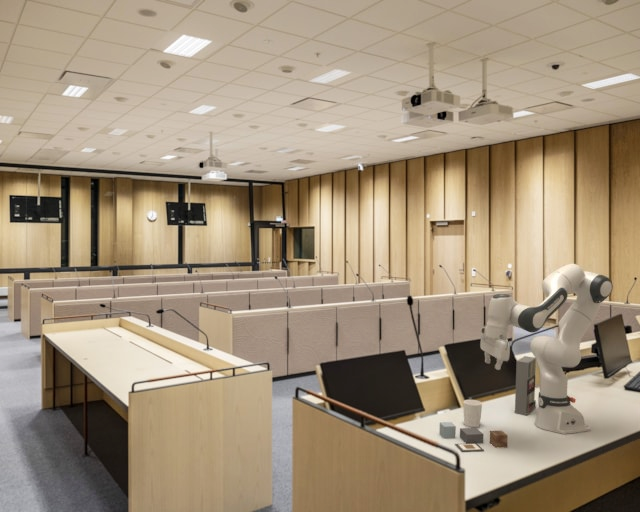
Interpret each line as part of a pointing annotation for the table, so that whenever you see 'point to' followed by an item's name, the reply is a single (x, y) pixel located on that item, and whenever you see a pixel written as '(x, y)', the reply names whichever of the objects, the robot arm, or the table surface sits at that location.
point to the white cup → (472, 412)
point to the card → (469, 447)
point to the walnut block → (498, 438)
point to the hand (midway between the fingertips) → (492, 366)
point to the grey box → (525, 385)
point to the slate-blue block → (447, 430)
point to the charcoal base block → (471, 435)
